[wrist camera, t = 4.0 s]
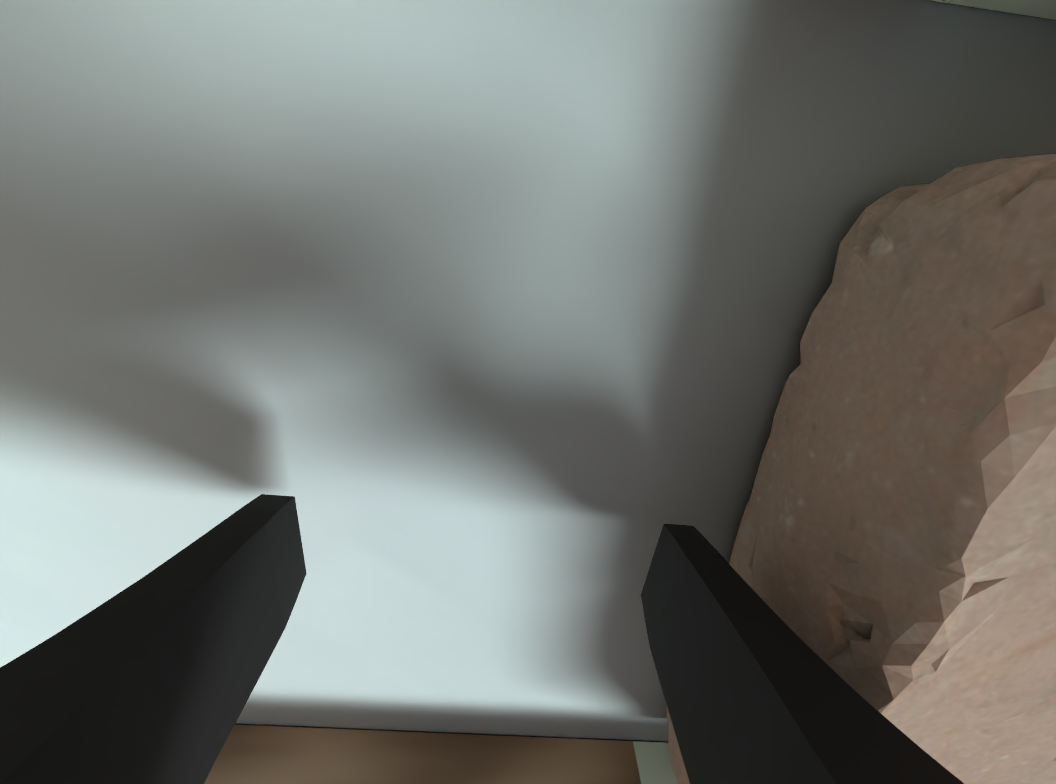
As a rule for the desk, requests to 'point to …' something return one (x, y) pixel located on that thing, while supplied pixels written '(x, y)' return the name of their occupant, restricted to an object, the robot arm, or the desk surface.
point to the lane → (461, 759)
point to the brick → (927, 472)
